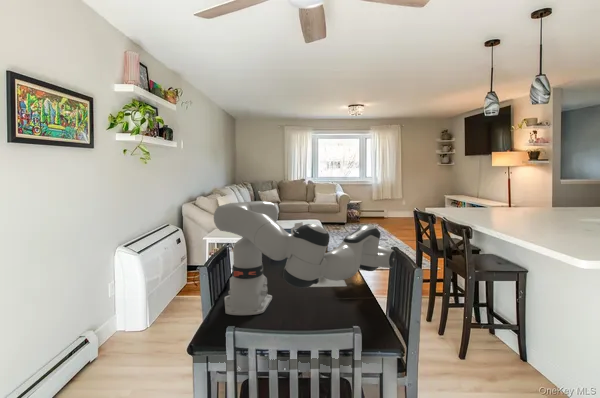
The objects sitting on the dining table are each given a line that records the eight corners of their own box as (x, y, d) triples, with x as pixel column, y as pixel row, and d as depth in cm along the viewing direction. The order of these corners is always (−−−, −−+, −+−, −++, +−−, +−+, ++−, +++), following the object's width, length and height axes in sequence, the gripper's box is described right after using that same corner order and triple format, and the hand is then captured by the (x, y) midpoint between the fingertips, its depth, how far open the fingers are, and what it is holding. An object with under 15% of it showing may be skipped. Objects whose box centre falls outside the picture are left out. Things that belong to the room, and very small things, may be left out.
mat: (346, 287, 156) (346, 286, 156) (308, 287, 155) (308, 286, 155) (340, 274, 174) (340, 273, 174) (305, 275, 173) (305, 274, 173)
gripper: (348, 263, 154) (325, 257, 164) (377, 255, 167) (355, 250, 178) (348, 249, 153) (325, 243, 164) (377, 242, 167) (355, 237, 177)
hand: (341, 247), depth 171 cm, fingers open, 8 cm apart
